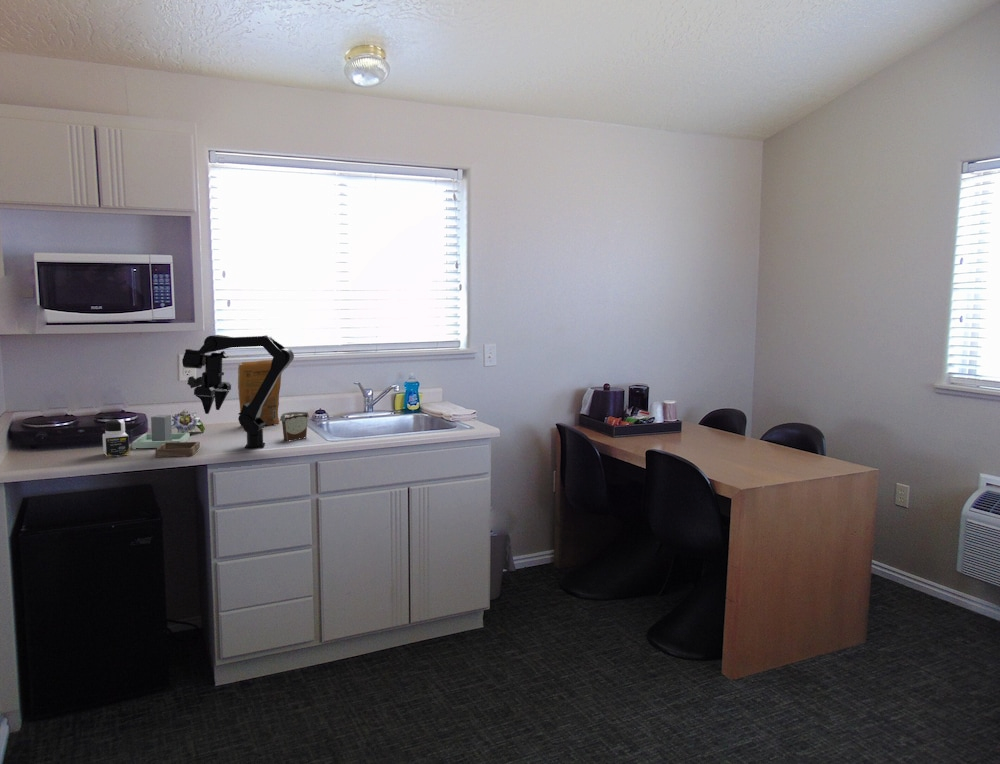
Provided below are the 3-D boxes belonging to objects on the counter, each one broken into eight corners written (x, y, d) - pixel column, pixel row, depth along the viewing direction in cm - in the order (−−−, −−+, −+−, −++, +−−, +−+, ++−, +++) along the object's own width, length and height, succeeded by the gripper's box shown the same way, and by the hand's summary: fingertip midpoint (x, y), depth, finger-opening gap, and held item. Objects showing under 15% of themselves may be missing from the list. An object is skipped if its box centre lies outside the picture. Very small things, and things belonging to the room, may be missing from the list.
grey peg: (158, 441, 274) (157, 414, 273) (172, 441, 274) (170, 415, 273) (152, 443, 269) (150, 417, 268) (165, 444, 269) (164, 417, 268)
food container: (298, 435, 292) (298, 410, 291) (309, 437, 289) (308, 412, 288) (273, 440, 282) (273, 414, 281) (284, 442, 279) (283, 416, 277)
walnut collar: (164, 449, 263) (164, 442, 263) (199, 448, 265) (199, 441, 265) (155, 456, 251) (155, 449, 251) (192, 455, 254) (192, 448, 253)
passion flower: (186, 449, 289) (166, 427, 283) (182, 439, 298) (163, 417, 292) (211, 431, 292) (192, 409, 286) (206, 422, 301) (188, 400, 294)
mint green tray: (144, 440, 278) (144, 433, 277) (189, 439, 281) (189, 432, 281) (132, 449, 262) (132, 442, 262) (180, 448, 265) (179, 441, 265)
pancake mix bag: (285, 425, 314) (284, 360, 310) (240, 428, 303) (238, 361, 300) (281, 422, 319) (279, 358, 316) (236, 426, 309) (234, 360, 306)
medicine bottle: (106, 457, 249) (104, 423, 247) (103, 453, 255) (101, 419, 253) (129, 455, 253) (128, 421, 252) (126, 451, 259) (124, 418, 257)
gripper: (203, 365, 276) (201, 406, 278) (179, 370, 257) (178, 414, 259) (232, 367, 275) (230, 408, 277) (211, 372, 257) (209, 416, 259)
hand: (212, 411), depth 268 cm, fingers open, 9 cm apart
